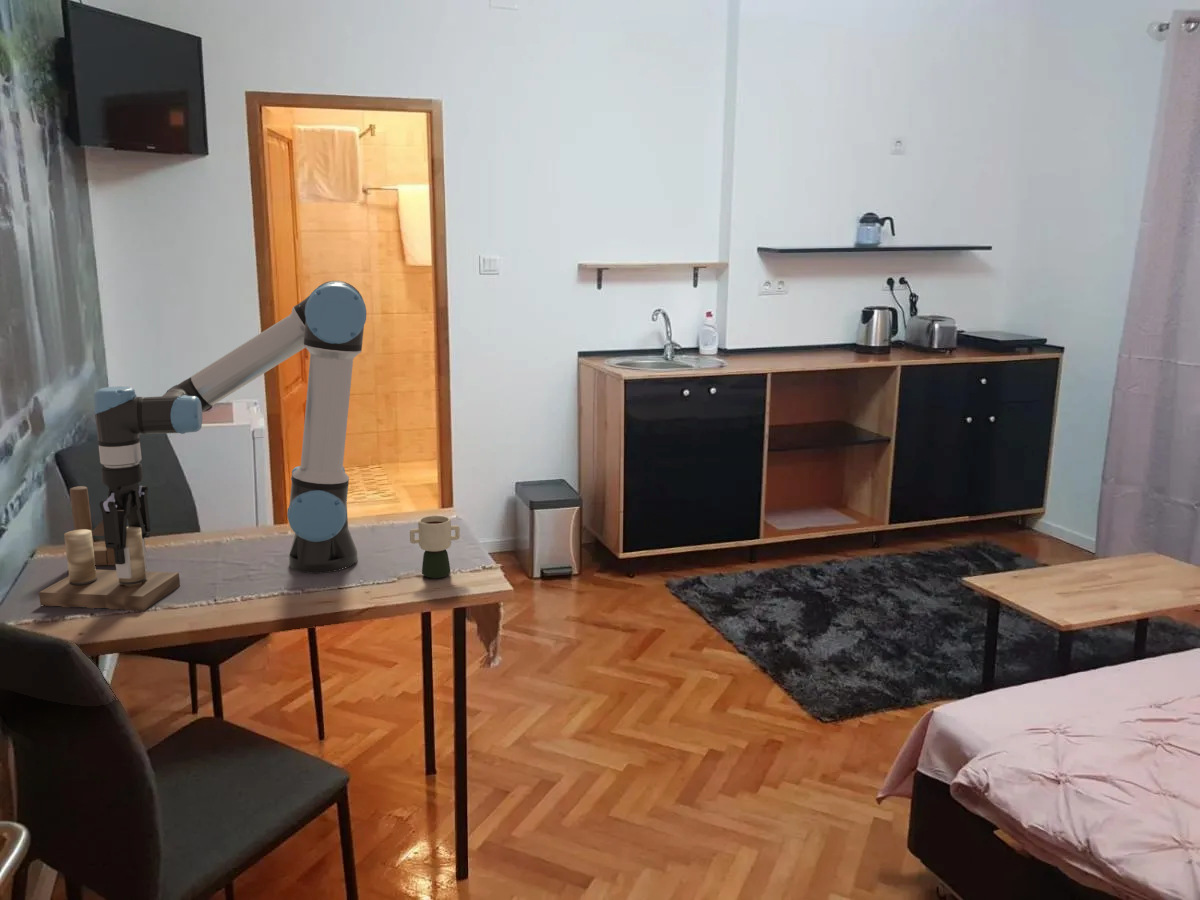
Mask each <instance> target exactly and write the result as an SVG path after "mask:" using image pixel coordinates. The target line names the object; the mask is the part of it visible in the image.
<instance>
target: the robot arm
mask: <svg viewBox="0 0 1200 900" xmlns="http://www.w3.org/2000/svg"><path fill="white" fill-rule="evenodd" d="M365 303H366V302H365V301H364V299H363V296H362V294H361V293H360V292H359V290H358V289H357V288H356V287H354V286H353V285H352V284H350V283H348V282H346V281H342V280H330V281H327V282H323V283H322V284H321V285H318V286H317V287H315V289H314V290H313V291H312V292H311V293H310V295H308V296H307V297H305V299H303V300H302V301H301V302H299V303H298V304H296V305H294V306H292V310H291V313H290V314H289V315H287V316H286V317H284V318H283V319H280V321H277V322H276V323H274V324H273V325H271V326H269V327H268V328H267V329H265V330H263V331H262V332H260V333H258V334H257V335H255V336H254V337H253V338H251V339H249V340H247V341H246V342H244V343H242V344H241V345H239V346H238V347H236V348H234V349H233V350H231V351H229V352H228V353H226V354H224V355H223V356H221V357H220V358H218V359H216V360H215V361H214V362H211V363H210V364H209V365H207V366H206V367H204V368H202V369H201V370H199V371H198V372H196V373H194V374H192V375H191V376H190V377H189V378H187V379H184V380H183V381H181V382H179V383H178V384H176V385H173V386H172V387H170V388H169V389H168V390H167V391H165V393H164V394H163V395H161V396H146V397H145V396H137V393H136V391H135V389H134V388H133V387H131V386H121V385H120V386H118V385H117V386H107V387H101V388H98V389H97V390H95V392H94V394H93V400H94V401H93V402H94V412H93V414H94V420H95V427H96V434H97V444H98V452H99V453H98V454H99V462H100V464H101V465H102V466H101V467H100V473H101V483H102V484H103V485H104V486H107V488H108V492H107V499H106V500H105V501H104V500H102V501H100V502H99V508H100V511H101V513H102V514H101V515H102V520H103V526H104V545H105V546H104V547H106V548H112V549H114V556H115V563H116V565H115V570H116V572H117V578H126V579H130V578H132V574H131V564H130V554H129V547H126V532H127V527H140V528H141V532H142V542H143V552H144V562H145V570H147V569H148V564H147V554H146V544H145V542H146V541H145V538H150V535H151V534H150V533H149V532H151V521H150V520H151V519H150V512H149V511H150V510H149V503H148V502H149V501H148V493H149V488H148V486H147V485H140V483H142V481H144V472H143V464H142V463H141V461H142V459H143V458H142V449H141V441H140V435H150V434H151V435H154V434H157V435H158V434H160V435H161V434H163V435H164V434H181V435H183V434H187V433H197V432H199V431H200V430H201V429H202V425H203V412H205V411H206V410H208V409H209V408H211V407H212V406H214V405H215V404H217V403H218V402H220V401H222V400H224V399H225V398H227V397H228V396H230V395H232V394H234V393H235V392H236V391H238V390H240V389H241V388H244V387H245V386H246V385H248V384H249V383H251V382H252V381H254V380H256V379H258V378H259V377H261V376H262V375H264V374H266V373H267V372H268V371H270V370H271V369H273V368H275V367H276V366H279V365H281V364H282V363H284V362H285V361H287V360H288V359H290V358H291V357H292V356H294V355H296V354H298V353H299V352H301V351H302V350H304V349H306V350H307V351H308V353H309V356H310V357H309V369H308V379H307V391H306V400H305V401H306V402H305V412H304V422H303V423H304V425H303V434H302V435H303V436H302V449H301V458H300V466H299V465H298V466H295V467H294V468H293V469H292V470H291V478H290V480H291V481H290V482H291V487H290V495H289V498H290V499H289V505H288V508H287V512H286V516H287V520H288V523H289V526H290V528H291V530H292V531H293V533H294V537H293V540H292V544H291V548H290V552H289V556H288V560H289V562H288V563H289V567H290V568H291V569H292V570H294V571H297V572H301V573H308V574H310V573H312V574H315V573H316V574H317V573H318V574H319V573H320V572H322V573H330V572H329V571H331V572H335V571H334V570H337V571H340V570H339V569H341V570H343V569H342V568H344V569H346V568H345V567H347V568H349V567H348V566H350V565H352V564H353V563H355V562H356V561H357V562H358V560H357V559H359V558H358V549H357V546H356V544H355V542H354V540H353V537H352V533H351V532H350V529H349V521H348V494H349V493H348V492H349V491H348V490H349V483H350V477H349V475H348V474H347V473H346V470H345V469H346V468H345V467H344V459H345V458H344V456H345V447H346V438H347V437H346V436H347V427H348V419H349V418H348V417H349V406H350V396H351V387H352V386H351V385H352V377H353V376H352V373H353V366H354V365H353V364H354V359H355V357H357V356H358V355H360V354H361V353H362V348H363V340H364V330H365V329H364V327H365V324H366V320H367V307H366V304H365ZM117 510H124V511H117ZM357 562H356V563H357ZM356 563H355V564H356ZM353 565H354V564H353ZM353 565H352V566H353ZM350 567H351V566H350Z"/></svg>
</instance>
